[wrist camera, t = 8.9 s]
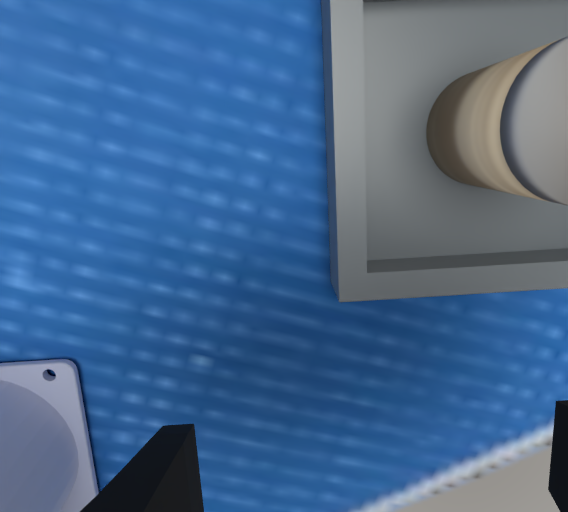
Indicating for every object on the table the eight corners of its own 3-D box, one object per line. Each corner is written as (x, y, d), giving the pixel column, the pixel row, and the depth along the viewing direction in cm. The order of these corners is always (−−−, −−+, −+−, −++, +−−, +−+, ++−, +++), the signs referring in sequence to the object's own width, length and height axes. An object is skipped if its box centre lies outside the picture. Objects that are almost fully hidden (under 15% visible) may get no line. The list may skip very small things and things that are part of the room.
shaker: (429, 191, 18) (520, 219, 11) (423, 77, 17) (518, 33, 10) (537, 178, 18) (695, 199, 11) (537, 63, 17) (709, 9, 10)
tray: (330, 281, 20) (339, 302, 17) (320, -21, 17) (328, -48, 15) (601, 264, 20) (647, 283, 17) (632, -38, 17) (692, -66, 15)
